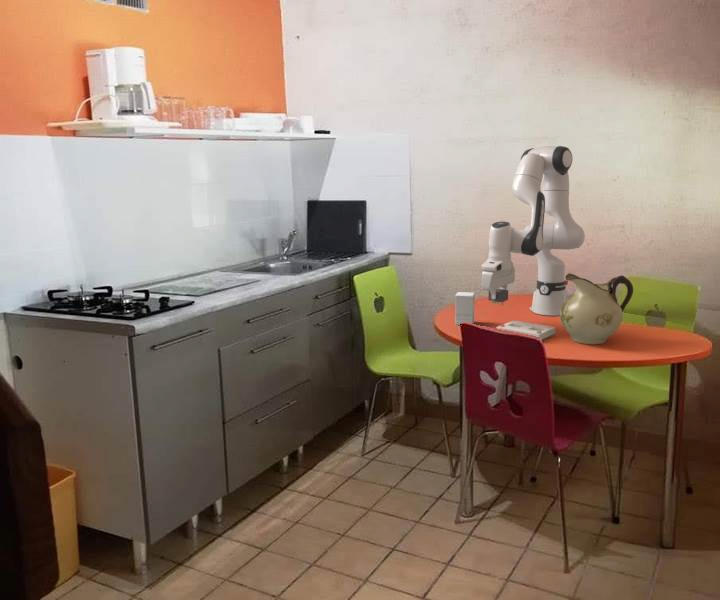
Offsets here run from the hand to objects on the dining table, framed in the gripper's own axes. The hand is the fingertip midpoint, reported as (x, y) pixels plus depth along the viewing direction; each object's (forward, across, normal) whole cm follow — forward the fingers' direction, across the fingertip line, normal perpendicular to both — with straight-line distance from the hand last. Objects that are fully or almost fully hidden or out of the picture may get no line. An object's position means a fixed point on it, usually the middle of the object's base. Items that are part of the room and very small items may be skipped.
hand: (498, 297), depth 283 cm
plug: (+3, 0, 0) cm, 3 cm away
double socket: (+12, +3, +14) cm, 19 cm away
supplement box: (+13, +3, -14) cm, 19 cm away
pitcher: (+13, -6, +36) cm, 39 cm away
